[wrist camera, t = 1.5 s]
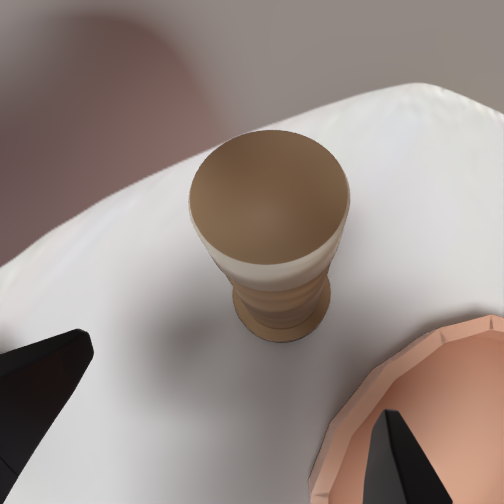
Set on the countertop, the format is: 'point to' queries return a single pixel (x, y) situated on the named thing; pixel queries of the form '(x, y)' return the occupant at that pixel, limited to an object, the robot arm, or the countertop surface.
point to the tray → (428, 415)
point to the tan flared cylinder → (272, 227)
